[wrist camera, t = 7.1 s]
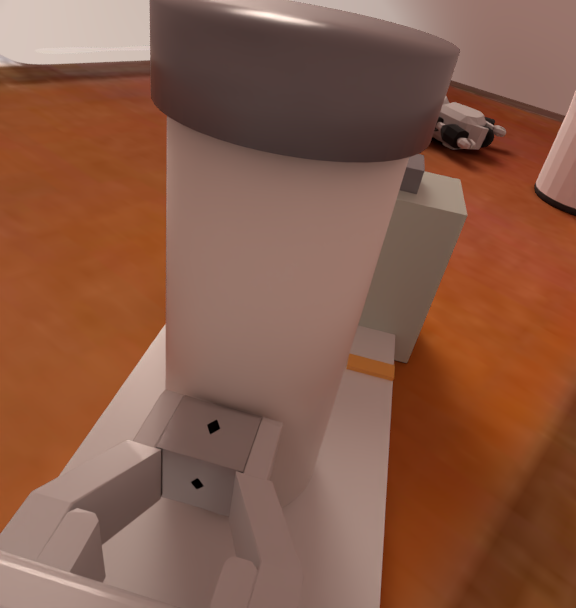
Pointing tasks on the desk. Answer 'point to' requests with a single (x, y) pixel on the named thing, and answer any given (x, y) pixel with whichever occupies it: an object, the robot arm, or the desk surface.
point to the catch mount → (335, 446)
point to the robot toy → (465, 127)
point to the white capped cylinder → (281, 196)
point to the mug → (561, 167)
